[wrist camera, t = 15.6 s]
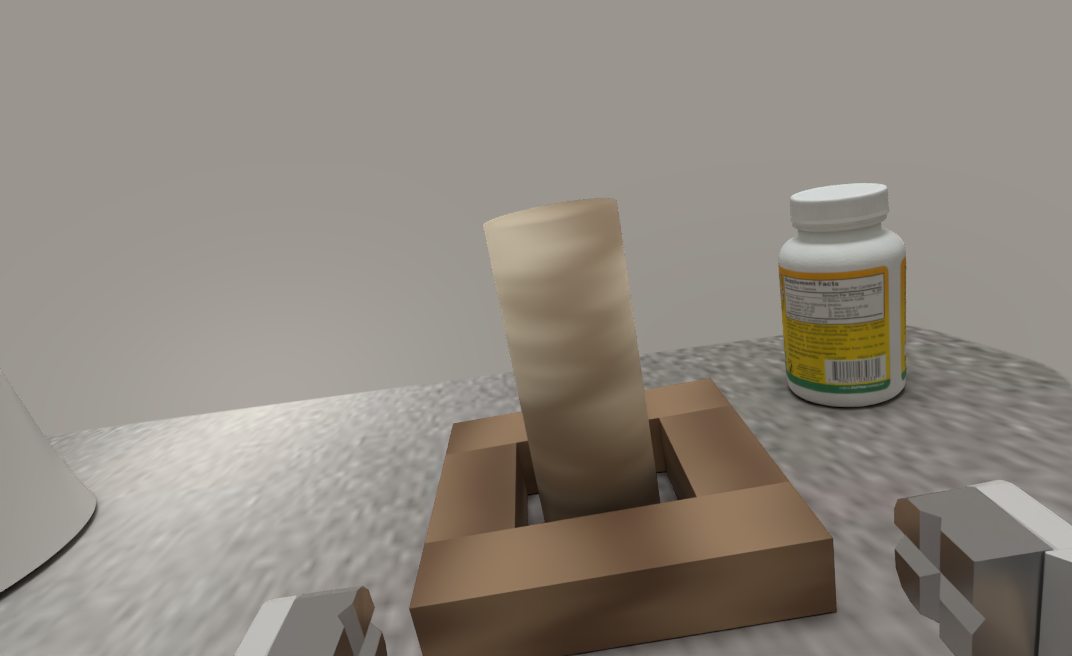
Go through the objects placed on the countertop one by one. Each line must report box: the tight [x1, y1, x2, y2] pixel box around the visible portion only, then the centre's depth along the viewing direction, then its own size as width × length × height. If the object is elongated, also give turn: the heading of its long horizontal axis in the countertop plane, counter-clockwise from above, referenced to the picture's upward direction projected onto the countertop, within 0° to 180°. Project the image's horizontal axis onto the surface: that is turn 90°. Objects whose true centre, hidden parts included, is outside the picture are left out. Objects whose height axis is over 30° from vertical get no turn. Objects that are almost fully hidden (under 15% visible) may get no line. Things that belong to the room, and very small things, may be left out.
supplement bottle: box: [778, 183, 906, 407], centre depth 30 cm, size 5×5×10 cm
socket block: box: [409, 378, 837, 656], centre depth 24 cm, size 12×12×2 cm
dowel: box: [483, 198, 660, 523], centre depth 23 cm, size 4×4×12 cm
